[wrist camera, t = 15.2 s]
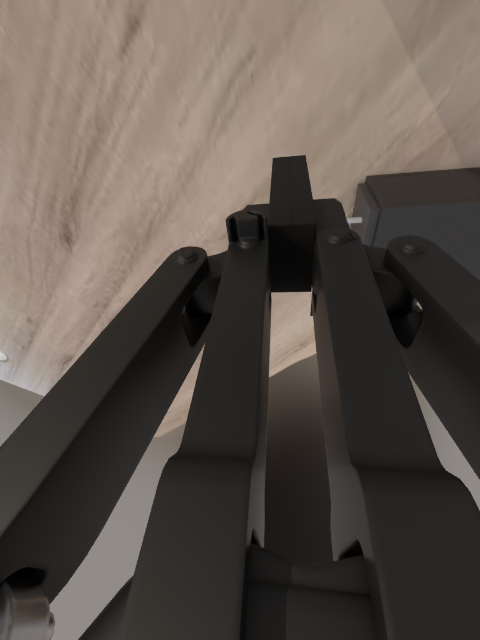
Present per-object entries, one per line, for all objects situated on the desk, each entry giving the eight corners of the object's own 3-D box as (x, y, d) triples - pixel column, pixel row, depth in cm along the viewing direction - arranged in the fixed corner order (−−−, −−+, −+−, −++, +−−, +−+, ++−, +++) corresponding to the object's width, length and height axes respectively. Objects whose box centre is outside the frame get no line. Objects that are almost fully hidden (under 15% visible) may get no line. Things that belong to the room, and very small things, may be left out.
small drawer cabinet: (351, 257, 51) (362, 295, 44) (366, 175, 41) (383, 207, 34) (448, 254, 49) (477, 294, 42) (489, 166, 39) (536, 198, 32)
